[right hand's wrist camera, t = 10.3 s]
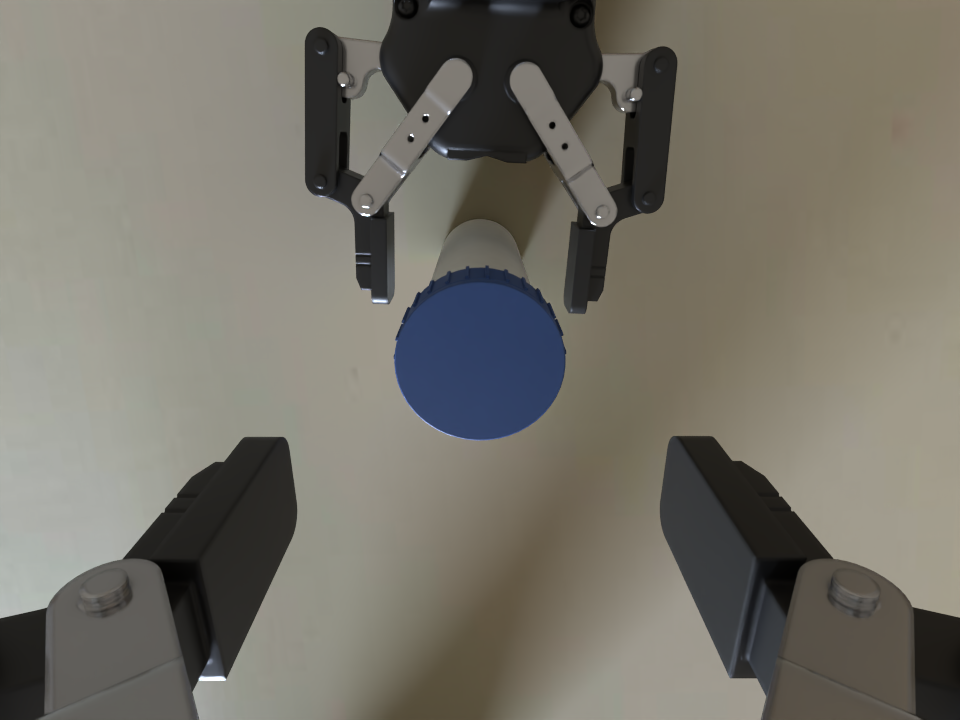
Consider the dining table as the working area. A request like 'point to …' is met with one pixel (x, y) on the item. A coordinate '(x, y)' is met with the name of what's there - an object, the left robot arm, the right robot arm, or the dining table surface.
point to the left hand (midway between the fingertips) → (479, 304)
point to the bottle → (480, 249)
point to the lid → (479, 354)
